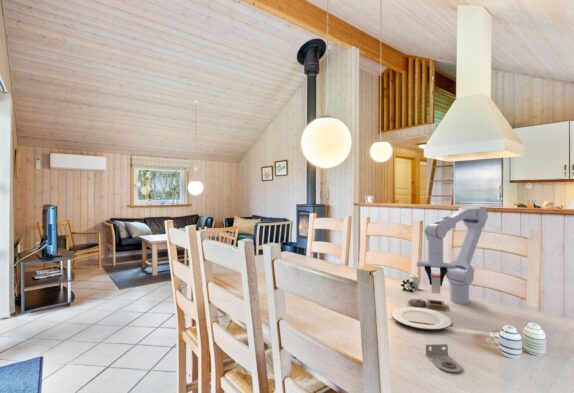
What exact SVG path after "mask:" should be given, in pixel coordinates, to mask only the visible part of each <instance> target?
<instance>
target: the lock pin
mask: <svg viewBox="0 0 574 393" xmlns="http://www.w3.org/2000/svg"><path fill="white" fill-rule="evenodd" d="M431 281H432V285H430V286H431V294H438V295H441V286H440V273H431Z"/></svg>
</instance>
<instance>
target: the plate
mask: <svg viewBox="0 0 574 393" xmlns="http://www.w3.org/2000/svg"><path fill="white" fill-rule="evenodd" d="M407 313H422V314H427V315H430V316H433V317H435V318H436V319H438V320H439V323H437V324H435V323H426V322H421V321H420V322H419V321H415V320H414V321H413V320H406V319H404V317H403V315H405V314H407ZM391 316H392V318H393V319H394V320H395V321H396V322H398V323H400V324H403V325H404V326H407V327H410V328H412V329H413V328H414V329H419V330H422V331H423V330H425V331H433V330H434V331H438V330H443V329H447V328H449V327H451V325H452V319H451V318H450V317H448V315H446V314H443V313H442V312H440V311H438V310H433V309H425V308H417V307H409V306H407V307H401V308H400V307H399V308H396V309H395V310H393V311H392V313H391Z"/></svg>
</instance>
